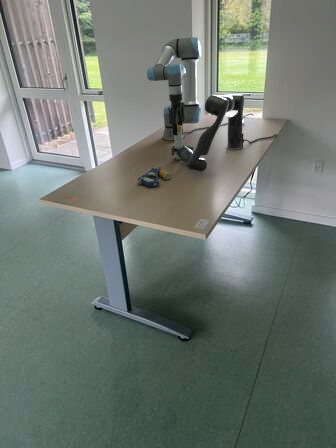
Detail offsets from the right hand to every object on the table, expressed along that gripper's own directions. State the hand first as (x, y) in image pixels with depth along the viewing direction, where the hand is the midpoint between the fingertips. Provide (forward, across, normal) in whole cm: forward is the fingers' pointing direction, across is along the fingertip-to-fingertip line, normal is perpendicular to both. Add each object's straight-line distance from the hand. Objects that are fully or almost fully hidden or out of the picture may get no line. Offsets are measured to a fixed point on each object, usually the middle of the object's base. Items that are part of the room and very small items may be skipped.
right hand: (177, 146), depth 210 cm
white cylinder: (-3, 0, +7) cm, 7 cm away
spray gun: (-29, +23, +7) cm, 37 cm away
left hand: (-3, 0, -9) cm, 9 cm away
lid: (-3, 0, -13) cm, 14 cm away
